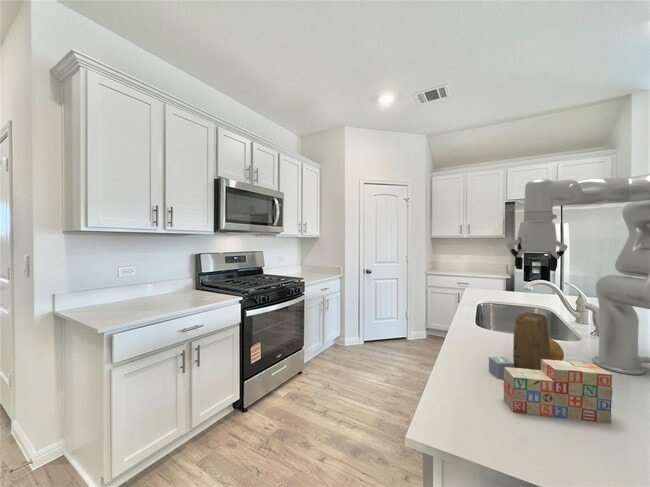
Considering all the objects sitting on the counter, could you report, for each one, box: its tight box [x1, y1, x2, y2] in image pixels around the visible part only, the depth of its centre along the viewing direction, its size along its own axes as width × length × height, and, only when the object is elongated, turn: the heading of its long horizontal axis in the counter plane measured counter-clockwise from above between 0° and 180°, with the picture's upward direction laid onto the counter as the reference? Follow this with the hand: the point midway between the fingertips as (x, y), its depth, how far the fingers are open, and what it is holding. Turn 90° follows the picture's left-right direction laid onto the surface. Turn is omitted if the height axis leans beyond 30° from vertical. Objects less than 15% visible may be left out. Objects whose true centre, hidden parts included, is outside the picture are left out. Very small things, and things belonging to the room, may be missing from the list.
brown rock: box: [512, 311, 550, 370], centre depth 93 cm, size 11×8×20 cm
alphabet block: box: [488, 356, 514, 380], centre depth 94 cm, size 5×5×5 cm
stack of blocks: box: [503, 359, 613, 424], centre depth 74 cm, size 21×6×12 cm, turn 78°
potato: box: [549, 337, 565, 361], centre depth 104 cm, size 10×13×9 cm
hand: (535, 269), depth 94 cm, fingers open, 9 cm apart
